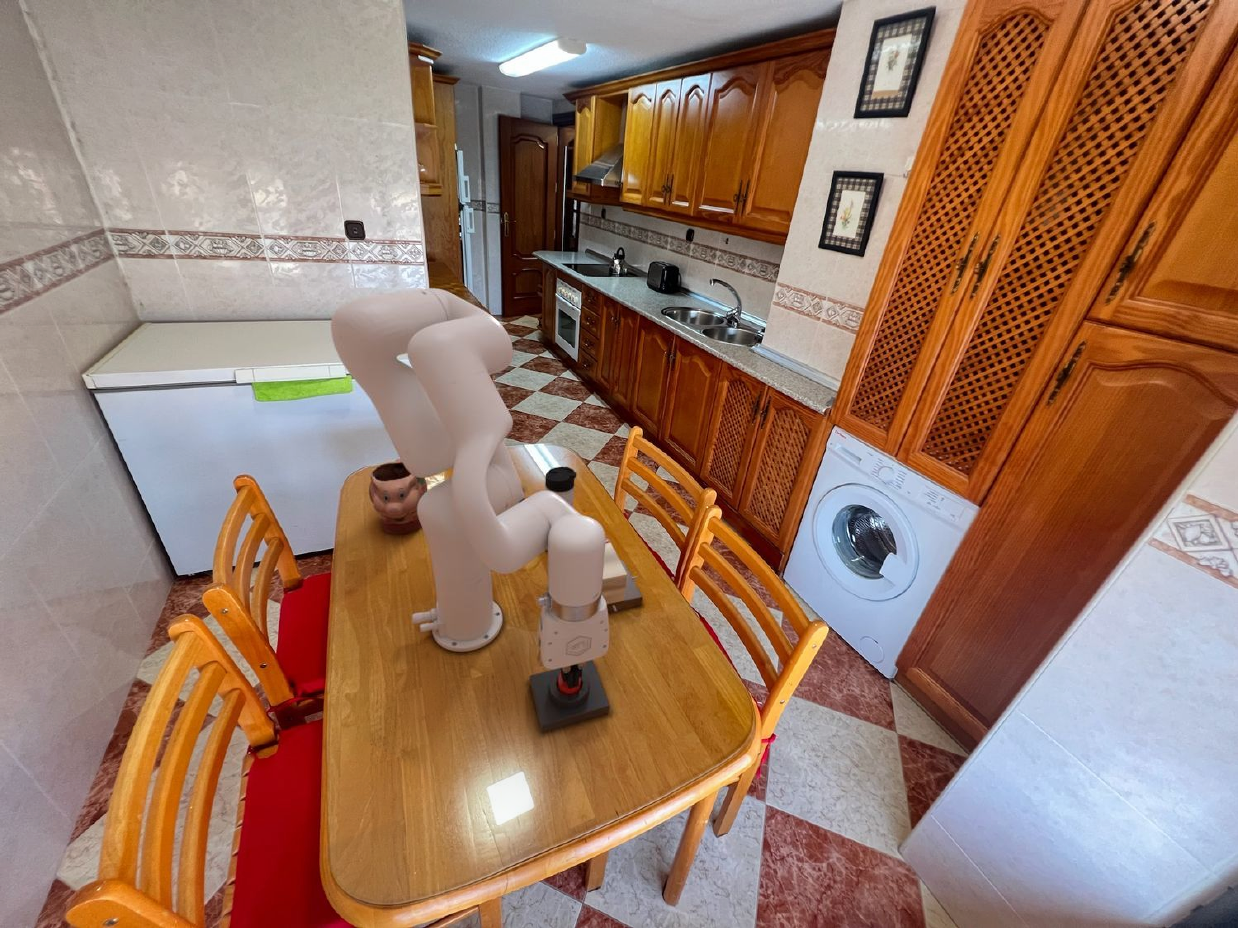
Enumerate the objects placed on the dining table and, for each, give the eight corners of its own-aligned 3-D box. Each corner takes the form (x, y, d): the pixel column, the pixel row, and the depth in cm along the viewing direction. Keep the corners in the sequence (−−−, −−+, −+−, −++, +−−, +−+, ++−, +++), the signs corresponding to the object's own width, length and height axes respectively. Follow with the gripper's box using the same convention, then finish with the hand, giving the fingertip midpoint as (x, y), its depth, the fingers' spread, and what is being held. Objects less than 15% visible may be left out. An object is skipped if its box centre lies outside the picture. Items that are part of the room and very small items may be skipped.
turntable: (577, 628, 94) (578, 619, 93) (557, 574, 106) (558, 565, 105) (650, 612, 99) (651, 602, 98) (623, 562, 111) (624, 553, 110)
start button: (561, 698, 78) (561, 691, 77) (555, 679, 81) (555, 672, 80) (583, 692, 79) (583, 685, 78) (576, 673, 82) (577, 666, 81)
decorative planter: (374, 499, 123) (365, 450, 116) (426, 491, 128) (420, 444, 121) (375, 549, 108) (364, 497, 101) (435, 539, 113) (428, 488, 106)
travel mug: (568, 556, 111) (571, 481, 101) (540, 550, 112) (541, 476, 102) (576, 539, 117) (580, 466, 107) (549, 533, 118) (550, 461, 107)
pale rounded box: (624, 600, 98) (627, 573, 94) (600, 605, 96) (602, 578, 93) (606, 563, 107) (608, 537, 103) (583, 567, 105) (585, 541, 101)
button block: (541, 733, 76) (541, 718, 74) (529, 683, 83) (529, 668, 81) (608, 713, 80) (610, 698, 78) (592, 667, 87) (593, 652, 85)
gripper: (527, 628, 64) (529, 714, 74) (633, 604, 69) (623, 687, 79) (516, 588, 70) (519, 672, 80) (615, 569, 75) (607, 650, 85)
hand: (571, 679), depth 79 cm, fingers closed
